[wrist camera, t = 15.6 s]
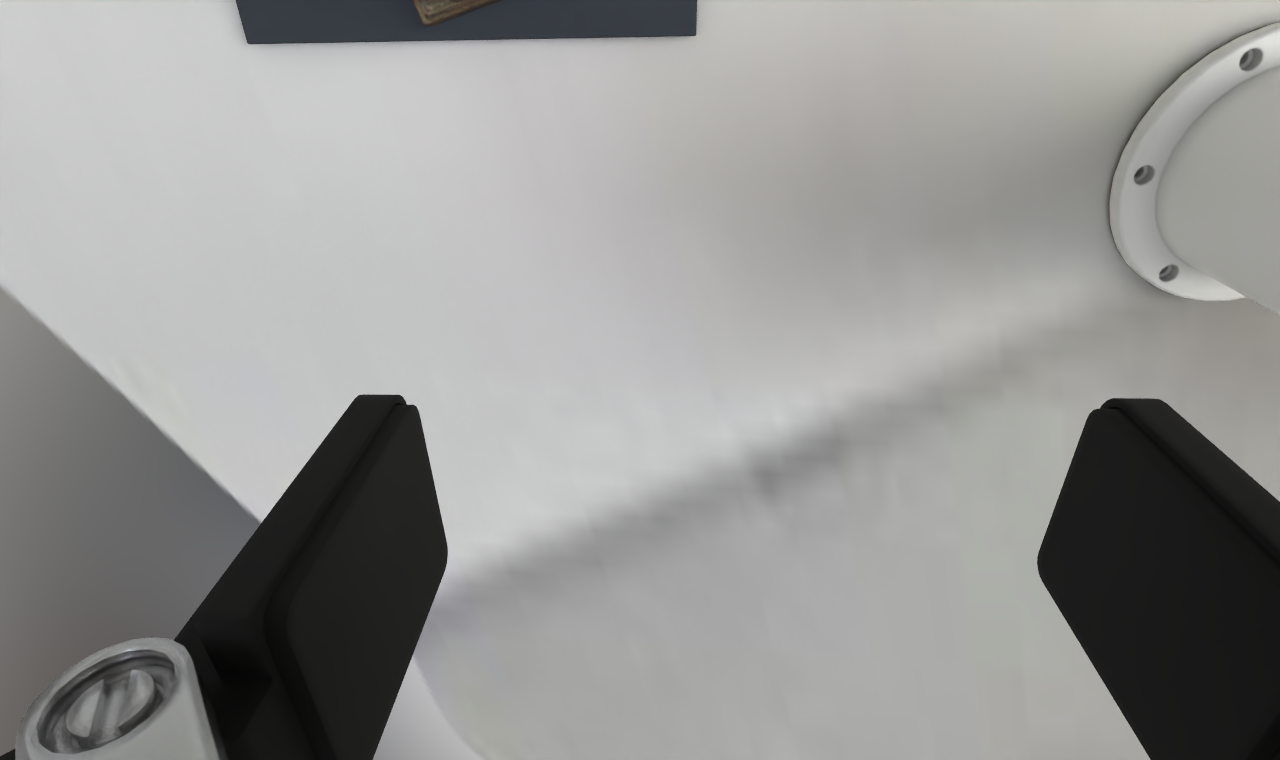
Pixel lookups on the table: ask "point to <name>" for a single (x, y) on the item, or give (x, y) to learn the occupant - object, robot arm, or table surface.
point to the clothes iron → (446, 9)
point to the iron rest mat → (462, 20)
